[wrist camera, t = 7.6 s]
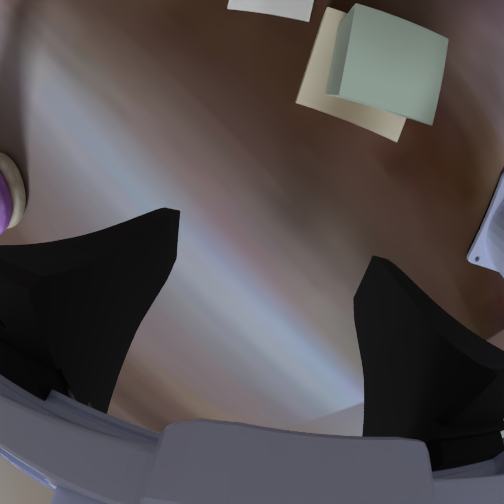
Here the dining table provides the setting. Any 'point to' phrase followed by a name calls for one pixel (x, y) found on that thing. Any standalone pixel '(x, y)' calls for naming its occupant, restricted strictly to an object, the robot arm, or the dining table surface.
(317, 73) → the maple base
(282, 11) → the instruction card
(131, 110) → the dining table surface
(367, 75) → the sage block
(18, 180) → the stacking toy
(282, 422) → the dining table surface
